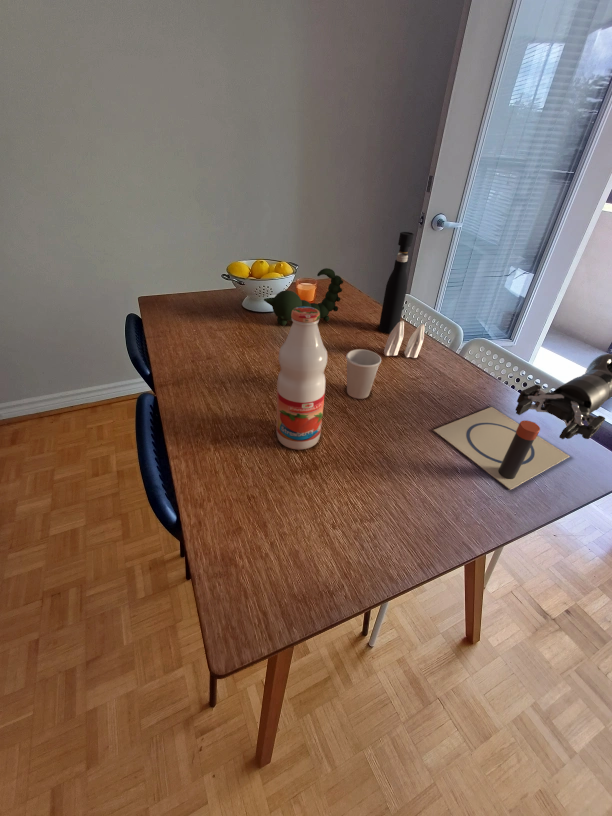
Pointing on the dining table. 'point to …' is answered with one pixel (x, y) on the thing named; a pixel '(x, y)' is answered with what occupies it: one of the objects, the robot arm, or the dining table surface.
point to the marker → (518, 449)
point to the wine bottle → (396, 287)
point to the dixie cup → (361, 372)
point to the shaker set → (397, 337)
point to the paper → (498, 445)
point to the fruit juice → (301, 381)
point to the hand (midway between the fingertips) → (540, 422)
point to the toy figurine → (290, 300)
